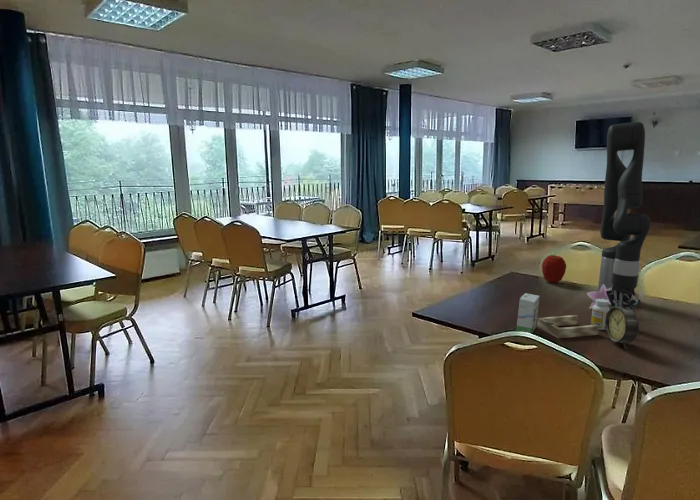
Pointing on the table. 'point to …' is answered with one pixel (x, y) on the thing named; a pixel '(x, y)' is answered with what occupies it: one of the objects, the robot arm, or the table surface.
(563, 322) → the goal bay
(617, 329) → the alarm clock
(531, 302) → the ink box
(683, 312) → the table surface
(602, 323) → the supplement bottle
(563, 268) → the apple
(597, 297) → the lily
